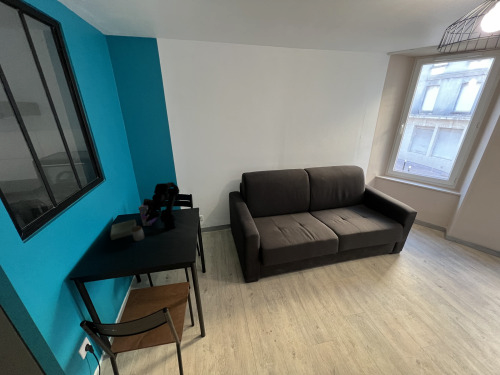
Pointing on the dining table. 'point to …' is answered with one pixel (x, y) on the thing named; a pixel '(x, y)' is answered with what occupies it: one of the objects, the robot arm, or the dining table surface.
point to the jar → (137, 233)
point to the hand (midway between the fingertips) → (146, 218)
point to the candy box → (143, 211)
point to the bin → (122, 229)
